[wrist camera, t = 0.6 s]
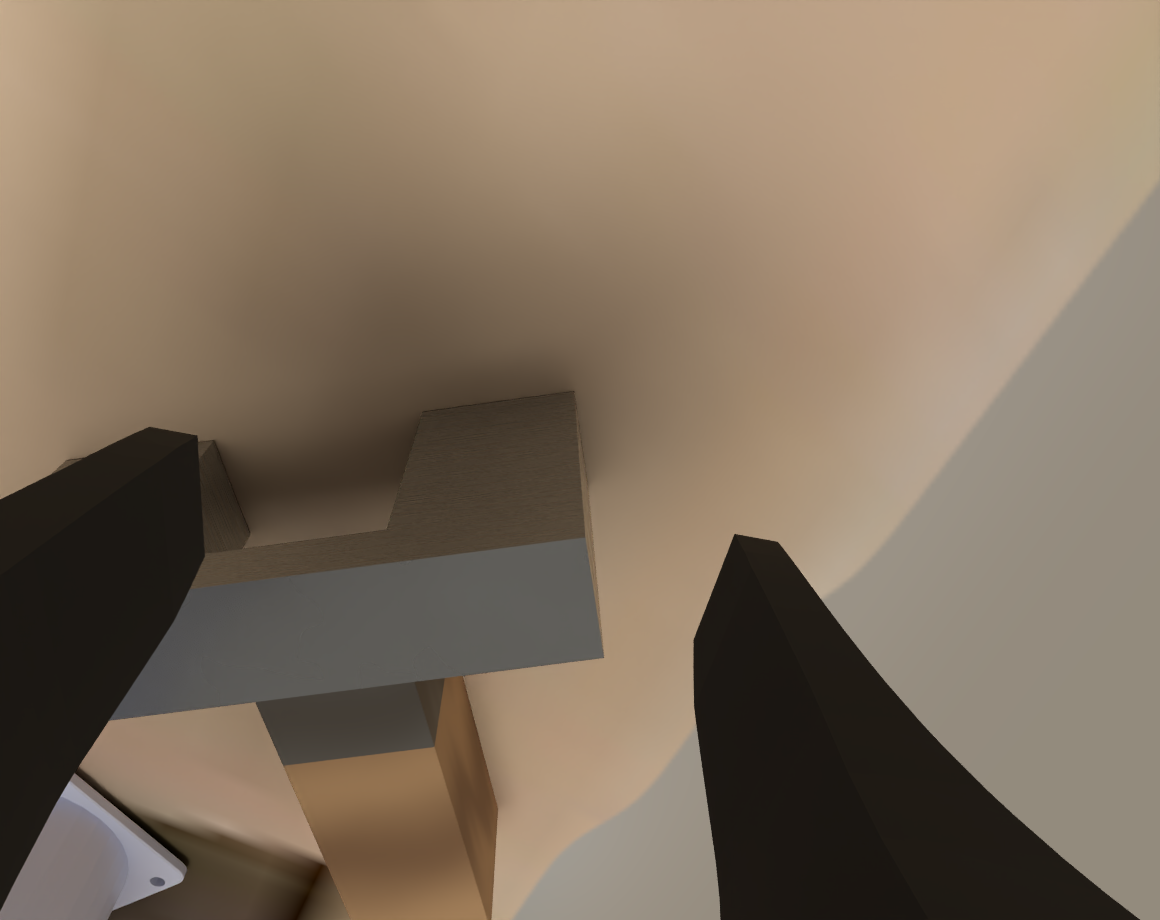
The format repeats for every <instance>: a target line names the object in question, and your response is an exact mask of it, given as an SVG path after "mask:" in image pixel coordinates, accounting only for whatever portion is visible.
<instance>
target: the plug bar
mask: <svg viewBox="0 0 1160 920" xmlns="http://www.w3.org/2000/svg"><path fill="white" fill-rule="evenodd" d="M256 705H257V707H258V709H259V711H260V714H261V716H262V718H263V721H264V723H265V725H266V727H267V730H268V732H269V734H270V737H271V739H272V741H273V743H274V746H275V748H276V750H277V752H278V755H279V757H280V759H281V762H282V764H283V766H284V768H285V771H286V773H287V775H288V778H289V780H290V782H291V784H292V787H293V789H294V791H295V794H296V796H297V798H298V800H299V803H300V805H301V807H302V810H303V812H304V814H305V816H306V819H307V821H308V823H309V825H310V828H311V830H312V832H313V835H314V837H315V839H316V841H317V844H318V846H319V848H320V851H321V853H322V855H323V857H324V860H325V862H326V864H327V867H328V869H329V871H330V873H331V876H332V878H333V880H334V883H335V885H336V887H337V889H338V892H339V894H340V896H341V898H342V901H343V903H344V905H345V908H346V910H347V912H348V914H349V917H350V919H351V920H491V918H492V901H493V884H494V867H495V850H496V833H497V816H498V807H497V803H496V800H495V796H494V792H493V789H492V785H491V781H490V777H489V774H488V770H487V766H486V762H485V759H484V755H483V751H482V747H481V744H480V740H479V736H478V732H477V729H476V725H475V721H474V717H473V714H472V710H471V706H470V702H469V699H468V695H467V691H466V687H465V684H464V680H463V676H457V677H449V678H441V679H433V680H425V681H417V682H409V683H401V684H394V685H386V686H378V687H370V688H362V689H354V690H346V691H338V692H330V693H323V694H315V695H307V696H299V697H291V698H283V699H275V700H267V701H259V702H256Z"/></svg>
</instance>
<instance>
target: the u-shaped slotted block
mask: <svg viewBox="0 0 1160 920" xmlns="http://www.w3.org/2000/svg"><path fill="white" fill-rule="evenodd" d="M198 454H199V469H200V485H201V501H202V516H203V532H204V548H205V557H204V559H203V561H202V564H201V566H200V568H199V570H198V572H197V575H196V577H195V579H194V581H193V583H192V585H191V588H190V590H189V592H188V594H187V596H186V598H185V600H184V602H183V604H182V606H181V608H180V610H179V612H178V614H177V616H176V618H175V620H174V622H173V624H172V625H171V627H170V628H169V630H168V631H167V633H166V635H165V636H164V638H163V639H162V641H161V642H160V644H159V645H158V647H157V648H156V650H155V652H154V653H153V655H152V656H151V658H150V659H149V661H148V662H147V664H146V665H145V667H144V668H143V670H142V671H141V673H140V675H139V676H138V678H137V679H136V681H135V682H134V684H133V685H132V687H131V688H130V690H129V691H128V693H127V694H126V696H125V697H124V699H123V700H122V702H121V703H120V705H119V706H118V708H117V709H116V711H115V712H114V714H113V715H112V717H111V718H110V720H117V719H125V718H133V717H141V716H149V715H157V714H165V713H173V712H181V711H188V710H196V709H204V708H212V707H220V706H228V705H236V704H244V703H252V702H259V701H267V700H275V699H283V698H291V697H299V696H307V695H315V694H323V693H330V692H338V691H346V690H354V689H362V688H370V687H378V686H386V685H394V684H401V683H409V682H417V681H425V680H433V679H441V678H449V677H457V676H465V675H472V674H480V673H488V672H496V671H504V670H512V669H520V668H528V667H536V666H544V665H551V664H559V663H567V662H575V661H583V660H591V659H599V658H604V652H603V641H602V631H601V620H600V609H599V598H598V587H597V577H596V566H595V555H594V544H593V533H592V523H591V512H590V501H589V490H588V483H587V476H586V470H585V463H584V456H583V449H582V442H581V436H580V429H579V422H578V415H577V408H576V402H575V395H574V391H573V392H566V393H558V394H551V395H544V396H536V397H529V398H522V399H514V400H507V401H500V402H492V403H485V404H478V405H470V406H463V407H456V408H448V409H441V410H434V411H426V412H423V413H422V416H421V419H420V422H419V426H418V429H417V432H416V435H415V439H414V442H413V445H412V449H411V452H410V455H409V458H408V462H407V465H406V468H405V471H404V475H403V478H402V481H401V485H400V488H399V491H398V494H397V498H396V501H395V504H394V507H393V511H392V514H391V517H390V521H389V524H388V527H387V530H382V531H374V532H367V533H359V534H352V535H344V536H336V537H329V538H321V539H314V540H306V541H299V542H291V543H284V544H276V545H268V546H261V547H253V548H246V549H242V548H243V546H244V544H245V543H246V541H247V539H248V537H249V536H250V533H249V530H248V528H247V525H246V522H245V520H244V517H243V515H242V512H241V510H240V507H239V504H238V502H237V499H236V497H235V494H234V492H233V489H232V487H231V484H230V481H229V479H228V476H227V474H226V471H225V469H224V466H223V463H222V461H221V458H220V456H219V453H218V451H217V448H216V445H215V443H214V441H206V442H199V443H198ZM82 459H83V458H82ZM79 460H81V459H74V460H67V461H65V462H64V463H63V464H62V465H61V466H60V467H59V468H58V469H57V470H56V471H54V472H53V473H55V472H57V471H59V470H61V469H63V468H65V467H67V466H69V465H71V464H73V463H75V462H77V461H79ZM53 473H52V474H53ZM110 720H109V721H110Z"/></svg>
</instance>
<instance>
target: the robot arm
mask: <svg viewBox="0 0 1160 920" xmlns="http://www.w3.org/2000/svg"><path fill="white" fill-rule="evenodd" d="M204 557H205V548H204V532H203V516H202V501H201V485H200V469H199V454H198V438H197V436H196V435H191V434H185V433H180V432H174V431H169V430H163V429H158V428H153V427H148V428H146V429H144V430H141V431H139V432H137V433H134V434H132V435H130V436H128V437H126V438H124V439H122V440H120V441H117V442H115V443H113V444H111V445H109V446H107V447H105V448H103V449H101V450H99V451H97V452H95V453H93V454H91V455H89V456H87V457H85V458H83V459H81V460H79V461H77V462H75V463H73V464H71V465H69V466H67V467H65V468H63V469H61V470H59V471H57V472H55V473H53V474H51V475H49V476H47V477H45V478H43V479H41V480H39V481H37V482H35V483H33V484H31V485H29V486H27V487H25V488H23V489H21V490H19V491H17V492H15V493H13V494H11V495H9V496H6V497H4V498H2V499H0V920H108V918H109V916H110V914H111V912H112V911H113V910H115V909H118V908H120V907H123V906H125V905H128V904H130V903H132V902H135V901H137V900H140V899H142V898H145V897H147V896H150V895H152V894H155V893H157V892H159V891H162V890H164V889H167V888H169V887H172V886H174V885H177V884H179V883H180V882H182V881H183V879H184V876H185V874H186V872H187V868H186V866H185V865H184V863H183V862H181V861H180V860H179V859H178V858H177V857H175V856H174V855H173V854H172V853H171V852H169V851H168V850H167V849H166V848H165V847H163V846H162V845H161V844H160V843H158V842H157V841H156V840H155V839H154V838H152V837H151V836H150V835H149V834H148V833H146V832H145V831H144V830H143V829H142V828H140V827H139V826H138V825H137V824H136V823H134V822H133V821H132V820H131V819H129V818H128V817H127V816H126V815H125V814H123V813H122V812H121V811H120V810H119V809H117V808H116V807H115V806H114V805H113V804H111V803H110V802H109V801H108V800H106V799H105V798H104V797H103V796H102V795H100V794H99V793H98V792H97V791H96V790H94V789H93V788H92V787H91V786H90V785H88V784H87V783H86V782H85V781H84V780H82V779H81V778H80V777H79V776H77V775H76V774H75V771H76V770H77V768H78V766H79V765H80V763H81V762H82V760H83V759H84V757H85V756H86V754H87V753H88V751H89V750H90V748H91V747H92V745H93V744H94V742H95V741H96V739H97V738H98V736H99V735H100V733H101V732H102V730H103V729H104V727H105V726H106V724H107V723H108V721H109V720H110V718H111V717H112V715H113V714H114V712H115V711H116V709H117V708H118V706H119V705H120V703H121V702H122V700H123V699H124V697H125V696H126V694H127V693H128V691H129V690H130V688H131V687H132V685H133V684H134V682H135V681H136V679H137V678H138V676H139V675H140V673H141V671H142V670H143V668H144V667H145V665H146V664H147V662H148V661H149V659H150V658H151V656H152V655H153V653H154V652H155V650H156V648H157V647H158V645H159V644H160V642H161V641H162V639H163V638H164V636H165V635H166V633H167V631H168V630H169V628H170V627H171V625H172V624H173V622H174V620H175V618H176V616H177V614H178V612H179V610H180V608H181V606H182V604H183V602H184V600H185V598H186V596H187V594H188V592H189V590H190V588H191V585H192V583H193V581H194V579H195V577H196V575H197V572H198V570H199V568H200V566H201V564H202V561H203V559H204ZM694 709H695V717H696V725H697V732H698V739H699V746H700V754H701V761H702V768H703V775H704V782H705V789H706V796H707V803H708V810H709V817H710V824H711V830H712V837H713V845H714V852H715V859H716V867H717V877H718V886H719V896H720V917H721V920H1140V919H1138V918H1137V917H1136V916H1134V915H1133V914H1132V913H1131V912H1129V911H1128V910H1126V909H1125V908H1124V907H1123V906H1121V905H1120V904H1119V903H1118V902H1116V901H1115V900H1113V899H1112V898H1111V897H1110V896H1109V895H1107V894H1106V893H1105V892H1103V891H1102V890H1101V889H1100V888H1098V887H1097V886H1096V885H1095V884H1094V883H1092V882H1091V881H1090V880H1089V879H1088V878H1086V877H1085V876H1084V875H1083V874H1082V873H1080V872H1079V871H1078V870H1077V869H1075V868H1074V867H1073V866H1072V865H1071V864H1069V863H1068V862H1067V861H1065V860H1064V859H1063V858H1062V857H1061V856H1060V855H1059V854H1058V853H1056V852H1055V851H1054V850H1053V849H1052V848H1051V847H1050V846H1049V845H1047V844H1046V843H1045V842H1044V841H1043V840H1042V839H1041V838H1039V837H1038V836H1037V835H1036V834H1035V833H1034V832H1033V831H1031V830H1030V829H1029V828H1028V827H1027V826H1026V825H1025V824H1023V823H1022V822H1021V821H1020V820H1019V819H1018V818H1017V817H1015V816H1014V815H1013V814H1012V813H1011V812H1010V811H1009V810H1008V809H1006V808H1005V806H1004V805H1002V804H1001V803H1000V802H999V801H998V800H997V799H996V798H995V797H994V796H993V795H992V794H991V793H990V792H988V791H987V790H986V789H985V788H984V787H983V786H982V785H981V784H980V783H979V782H978V781H977V780H976V779H975V778H974V777H973V776H972V775H971V774H970V773H969V772H968V771H967V770H966V769H965V768H964V767H963V766H962V765H961V764H960V763H959V762H958V761H957V760H956V759H955V758H954V757H953V756H952V755H951V754H950V753H949V752H948V751H947V750H946V749H945V748H944V747H943V746H942V745H941V744H940V743H939V742H938V740H937V739H936V738H935V737H934V736H933V735H932V734H931V733H930V732H929V731H928V730H927V729H926V728H925V726H924V725H923V724H922V723H921V722H920V721H919V720H918V719H917V718H916V716H915V715H914V714H913V713H912V712H911V711H910V710H909V708H908V707H907V706H906V705H905V704H904V703H903V702H902V700H901V699H900V698H899V697H898V696H897V695H896V693H895V692H894V691H893V690H892V689H891V688H890V687H889V685H887V683H886V682H885V681H884V680H883V678H882V677H881V676H880V675H879V674H878V673H877V671H876V670H875V669H874V667H873V666H872V665H871V664H870V663H869V661H868V660H867V659H866V658H865V656H864V655H863V654H862V652H861V651H860V650H859V649H858V648H857V646H856V645H855V644H854V642H853V641H852V640H851V639H850V637H849V636H848V635H847V633H846V632H845V631H844V629H843V628H842V627H841V626H840V624H839V623H838V622H837V620H836V619H835V618H834V616H833V615H832V614H831V612H830V611H829V610H828V608H827V607H826V606H825V604H824V603H823V601H822V600H821V599H820V597H819V596H818V595H817V593H816V592H815V591H814V589H813V588H812V587H811V585H810V584H809V583H808V581H807V580H806V578H805V577H804V576H803V574H802V573H801V572H800V570H799V569H798V568H797V566H796V565H795V564H794V562H793V561H792V560H791V558H790V557H789V556H788V554H787V553H786V552H785V550H784V549H783V548H782V547H781V545H780V544H779V543H778V542H775V541H770V540H764V539H759V538H754V537H748V536H743V535H737V534H735V535H734V537H733V540H732V542H731V545H730V547H729V550H728V553H727V555H726V558H725V560H724V563H723V565H722V568H721V571H720V573H719V576H718V578H717V581H716V583H715V586H714V589H713V591H712V594H711V596H710V599H709V601H708V604H707V607H706V609H705V612H704V614H703V617H702V620H701V622H700V625H699V627H698V630H697V632H696V635H695V638H694Z"/></svg>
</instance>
